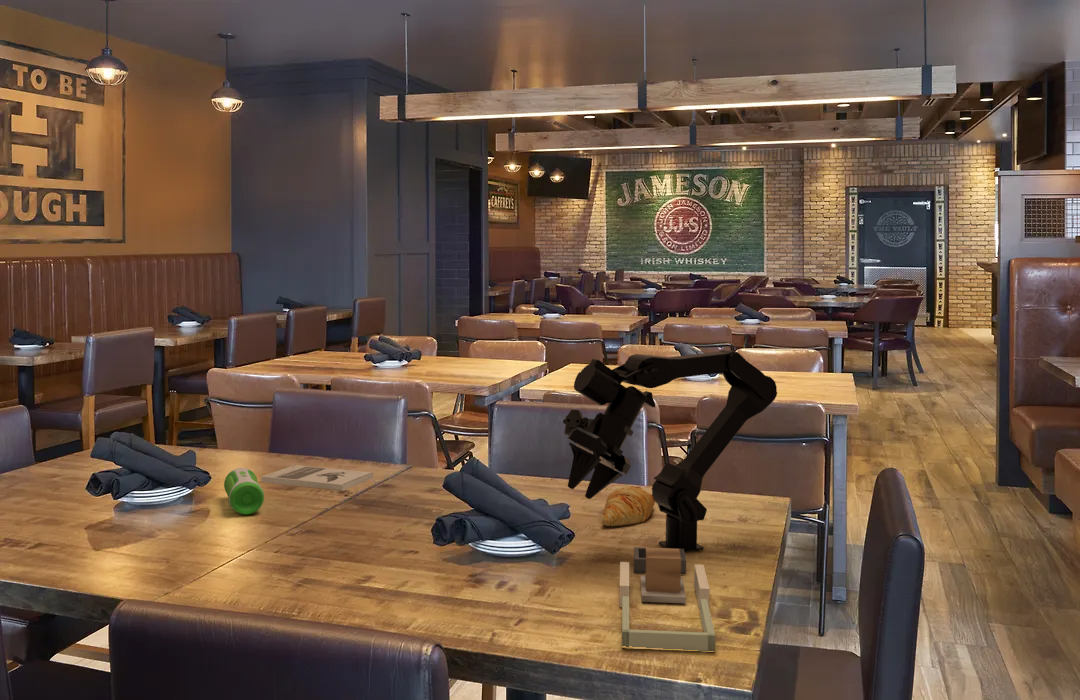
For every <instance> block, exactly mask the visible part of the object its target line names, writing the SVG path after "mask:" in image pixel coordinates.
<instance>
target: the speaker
mask: <svg viewBox="0 0 1080 700" xmlns="http://www.w3.org/2000/svg"><path fill="white" fill-rule="evenodd" d="M256 475H257V474H255V473H254V471H252V470H251V469H249V468H245V467H237V468H234V469H233V470H231V471H230V472H228V473H227V475H226V477H225V479H224V483H223V489H224V491H225V494H227V495H226V496H227V498H228V503H229V505H230V507H231V509H232V510H233V511H235V512H236V513H238V514H241V515H245V516H246V515H251V514H254V513H256V512H257V511H258V510H259V509H260V508H261V507H262V505H263V504H264V501H265V492H264V489H263V488H262V486H261V485H260V482H259V481H258V477H257V476H256Z"/></svg>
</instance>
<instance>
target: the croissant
mask: <svg viewBox="0 0 1080 700" xmlns="http://www.w3.org/2000/svg"><path fill="white" fill-rule="evenodd" d="M655 503H656V502H655V500H654V499H653V496H652V494H650V493H649V492H647V491H646V490H645V489H643V488H642V487H640V486H634V485H630V486H625V487H620V488H618V489H615V490H613V491H612V492H611V493H610V494H609V495H608V497H606V500H605V505H604V509H603V512H602V515H601V516H600V517H601V524H602V525H603V526H606V527H618V526H619V527H621V526H626V525H627V526H628V525H634V524H635V525H636V524H640V523H644V522H645V521H646V520H647V519H648V518H649V517H650V516H651V515H652V511H653V509H654V506H655ZM645 519H646V520H645Z"/></svg>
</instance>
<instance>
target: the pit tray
mask: <svg viewBox="0 0 1080 700" xmlns="http://www.w3.org/2000/svg"><path fill="white" fill-rule="evenodd" d="M646 548H647V547H639V546H637V547H636V546H634V547H633V573H634V574H646ZM669 549H675V548H669ZM679 550H680V556H681V574H686V575H687V557H686V552H684V549H679Z"/></svg>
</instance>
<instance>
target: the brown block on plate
mask: <svg viewBox="0 0 1080 700" xmlns="http://www.w3.org/2000/svg"><path fill="white" fill-rule="evenodd" d="M645 548H646V573H645V575H644V574H643V575H641V574H640V594H641V595H640V596H641V598H640V599H641V603H669V604H670V603H671V604H686V603H687V601H686V600H687V596H686V590H685V584H684V578H683V576H682V575H681V556H680V550H679V549H669V548H664V547H645Z"/></svg>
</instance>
